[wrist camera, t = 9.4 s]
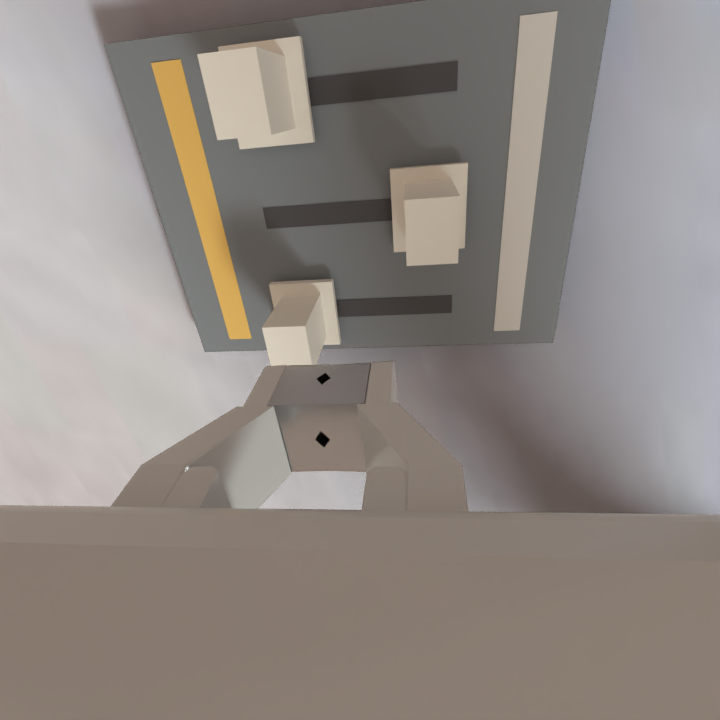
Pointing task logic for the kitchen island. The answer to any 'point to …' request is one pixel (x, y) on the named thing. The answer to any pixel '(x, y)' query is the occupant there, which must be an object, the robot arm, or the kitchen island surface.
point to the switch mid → (429, 212)
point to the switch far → (301, 321)
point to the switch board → (379, 168)
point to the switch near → (259, 93)
